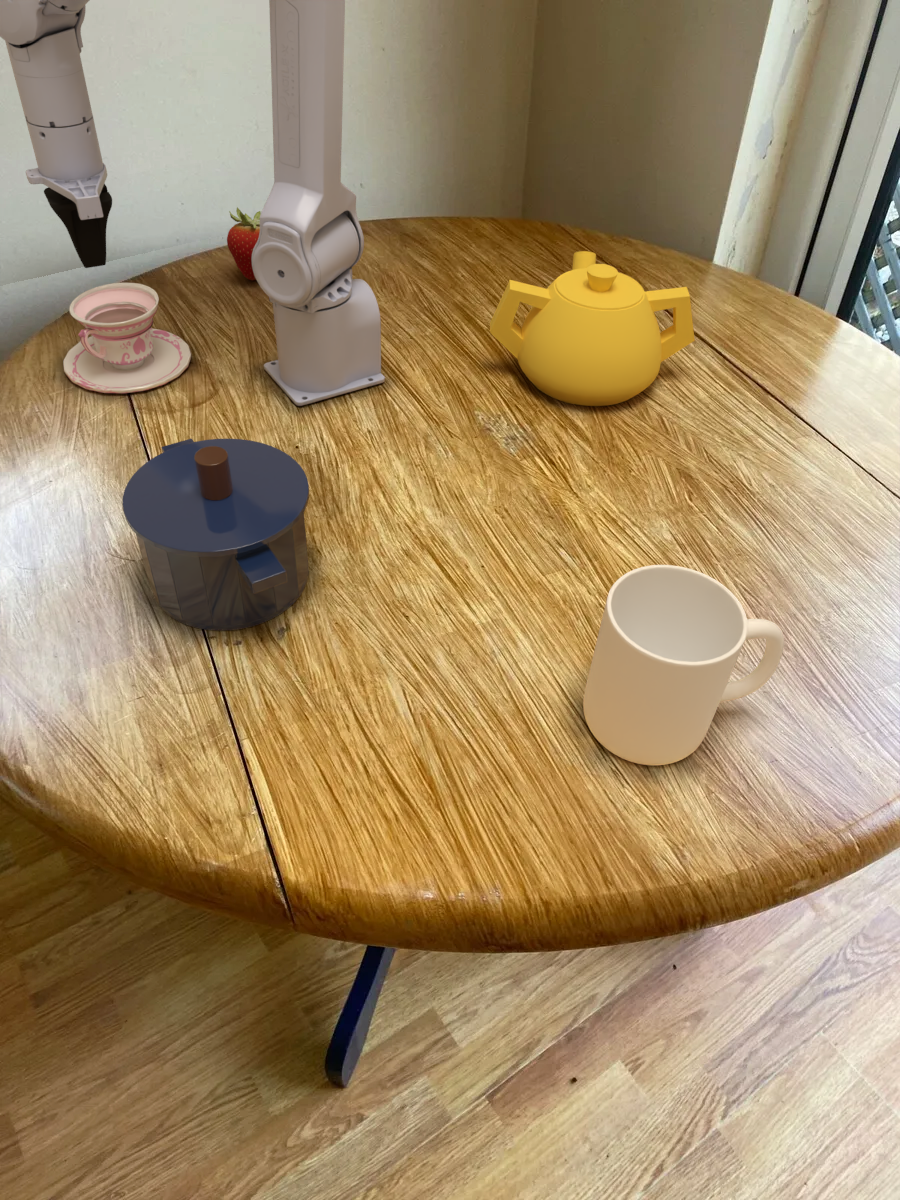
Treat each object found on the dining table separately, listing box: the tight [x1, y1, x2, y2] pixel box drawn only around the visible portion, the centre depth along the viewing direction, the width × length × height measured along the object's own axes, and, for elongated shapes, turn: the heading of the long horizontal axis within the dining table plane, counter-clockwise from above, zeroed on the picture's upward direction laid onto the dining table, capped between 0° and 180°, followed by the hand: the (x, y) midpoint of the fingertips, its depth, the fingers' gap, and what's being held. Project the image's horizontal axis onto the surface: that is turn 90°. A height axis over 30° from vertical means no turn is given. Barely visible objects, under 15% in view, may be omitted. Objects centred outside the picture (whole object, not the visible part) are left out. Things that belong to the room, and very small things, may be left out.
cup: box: [582, 564, 785, 766], centre depth 57 cm, size 8×12×10 cm
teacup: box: [62, 282, 192, 394], centre depth 87 cm, size 12×12×6 cm
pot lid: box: [121, 438, 310, 557], centre depth 62 cm, size 13×13×4 cm
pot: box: [135, 438, 310, 632], centre depth 66 cm, size 12×17×8 cm
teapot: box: [489, 250, 696, 407], centre depth 89 cm, size 20×18×11 cm
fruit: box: [226, 207, 262, 281], centre depth 100 cm, size 5×5×8 cm
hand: (94, 263), depth 91 cm, fingers closed
